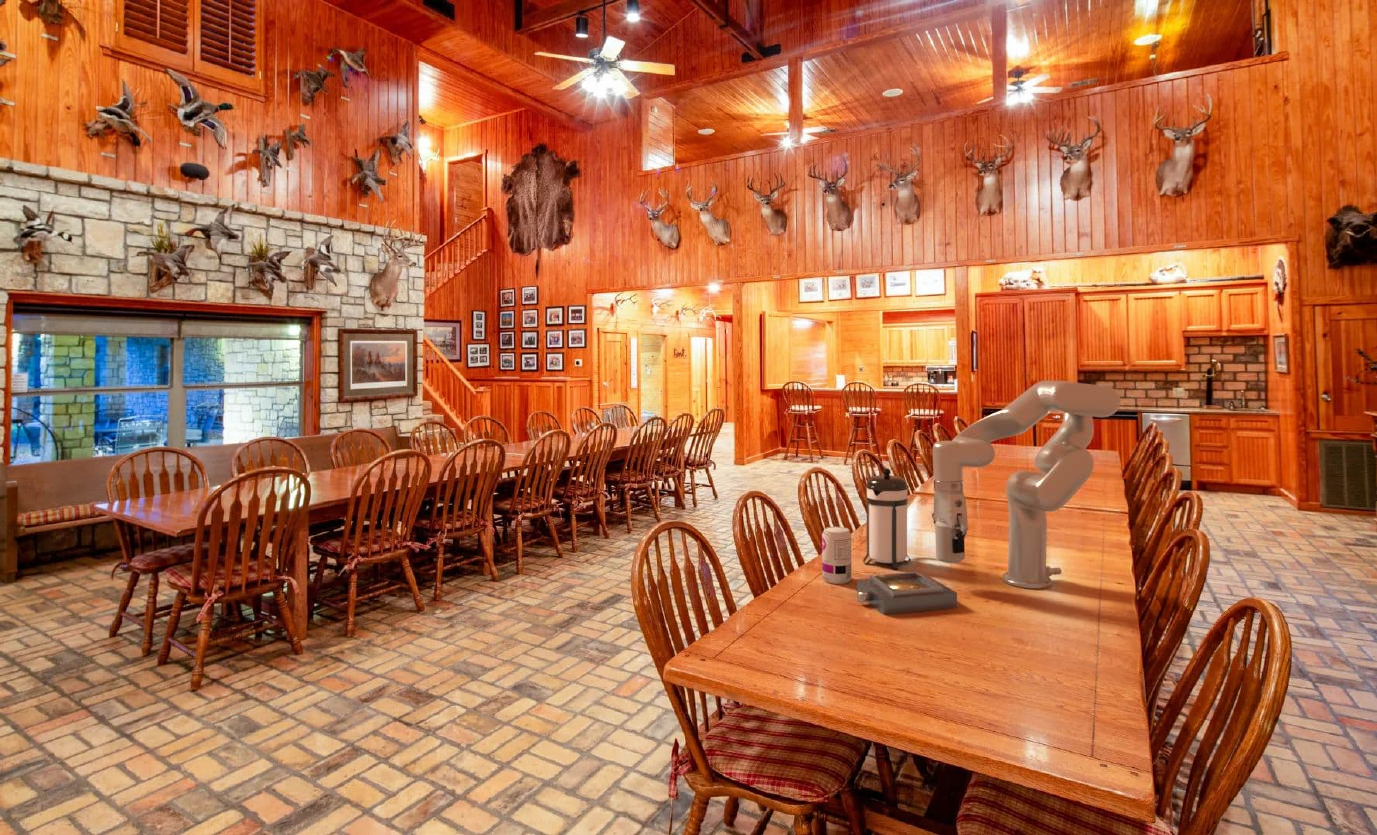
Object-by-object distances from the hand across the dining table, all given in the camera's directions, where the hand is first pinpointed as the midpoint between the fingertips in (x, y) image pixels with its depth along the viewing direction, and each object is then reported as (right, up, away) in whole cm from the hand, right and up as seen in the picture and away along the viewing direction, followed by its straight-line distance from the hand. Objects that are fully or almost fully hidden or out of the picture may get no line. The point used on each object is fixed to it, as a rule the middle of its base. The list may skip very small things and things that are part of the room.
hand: (950, 548), depth 187 cm
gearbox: (-17, -12, -9) cm, 23 cm away
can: (0, -4, 0) cm, 4 cm away
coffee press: (-10, -9, +26) cm, 29 cm away
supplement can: (-29, -11, +9) cm, 33 cm away
